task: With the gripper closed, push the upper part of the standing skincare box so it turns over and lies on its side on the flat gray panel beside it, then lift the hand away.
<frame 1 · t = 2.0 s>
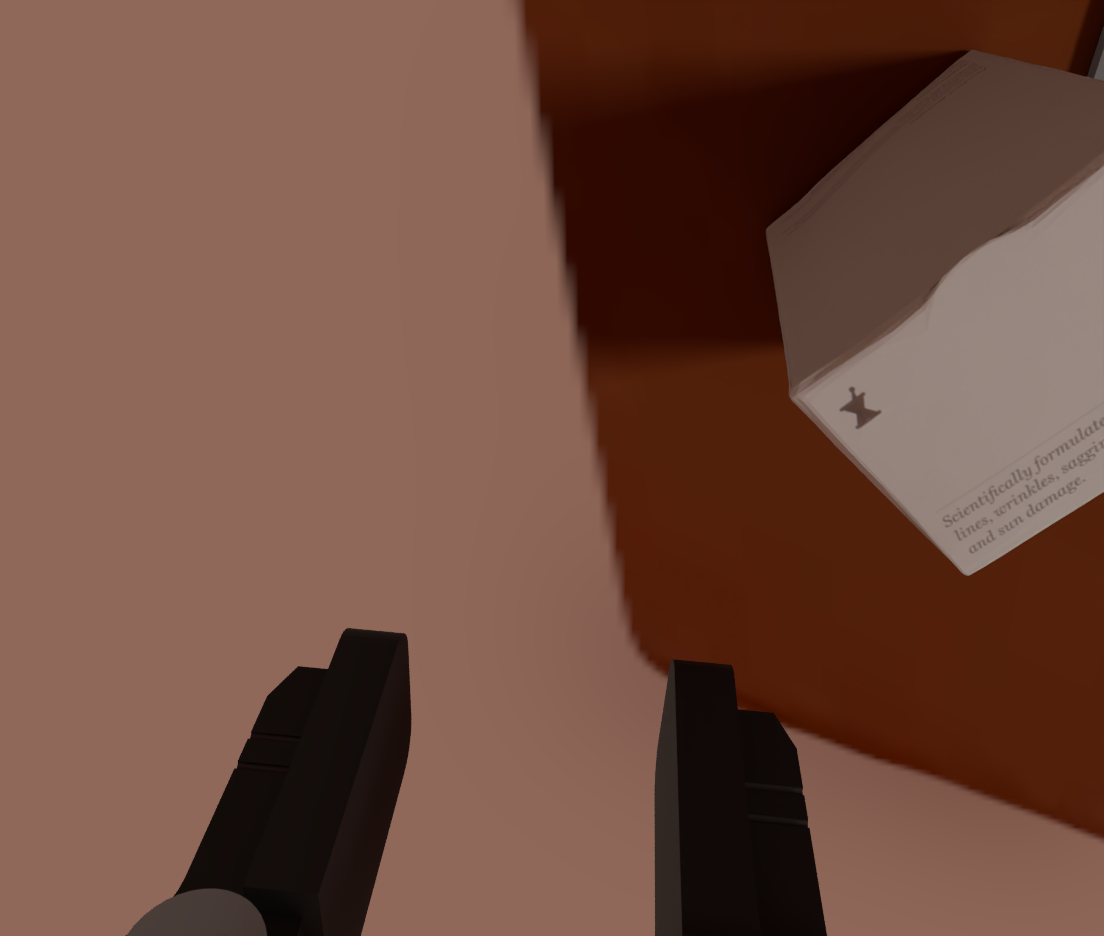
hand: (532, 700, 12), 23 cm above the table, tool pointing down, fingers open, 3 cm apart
skincare box: (919, 198, 31), on the table, touching flat gray panel
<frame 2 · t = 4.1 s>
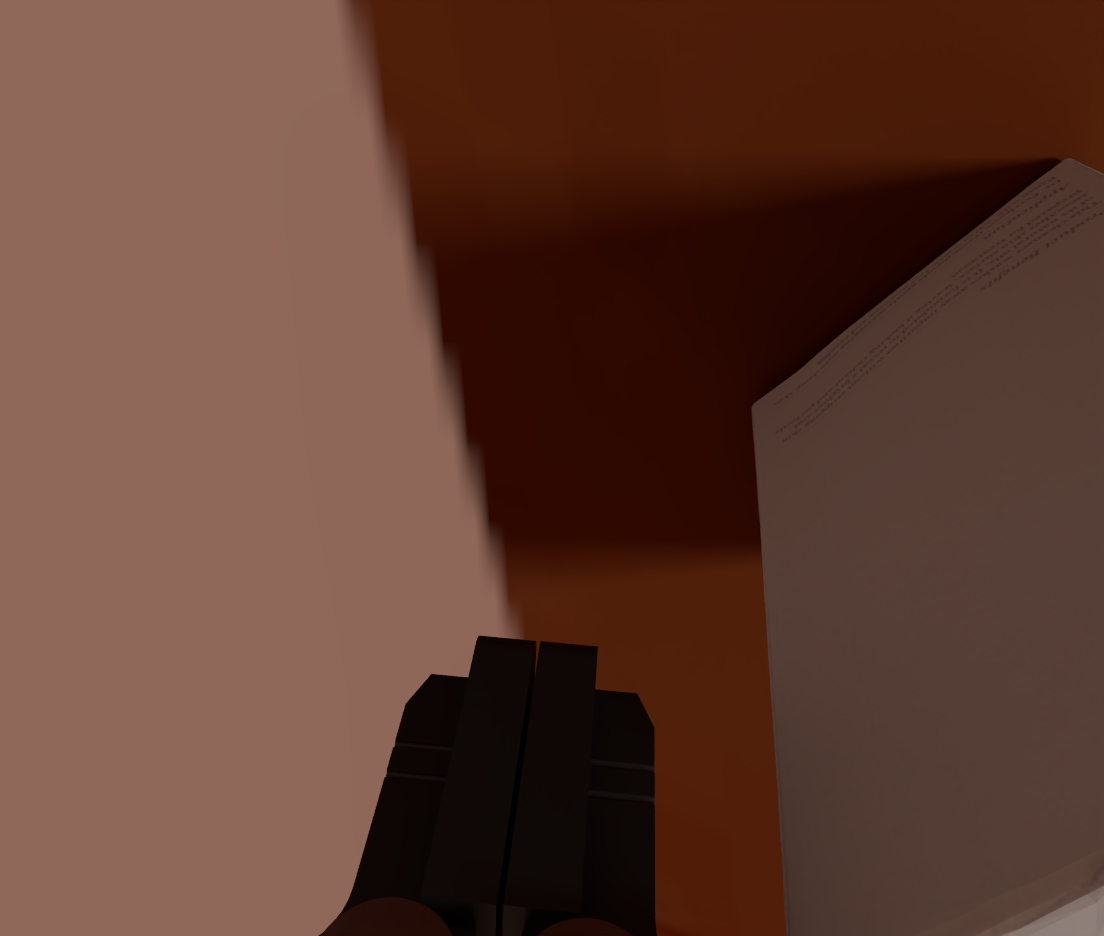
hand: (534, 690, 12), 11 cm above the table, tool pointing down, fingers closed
skincare box: (978, 365, 21), on the table, touching flat gray panel, gripper
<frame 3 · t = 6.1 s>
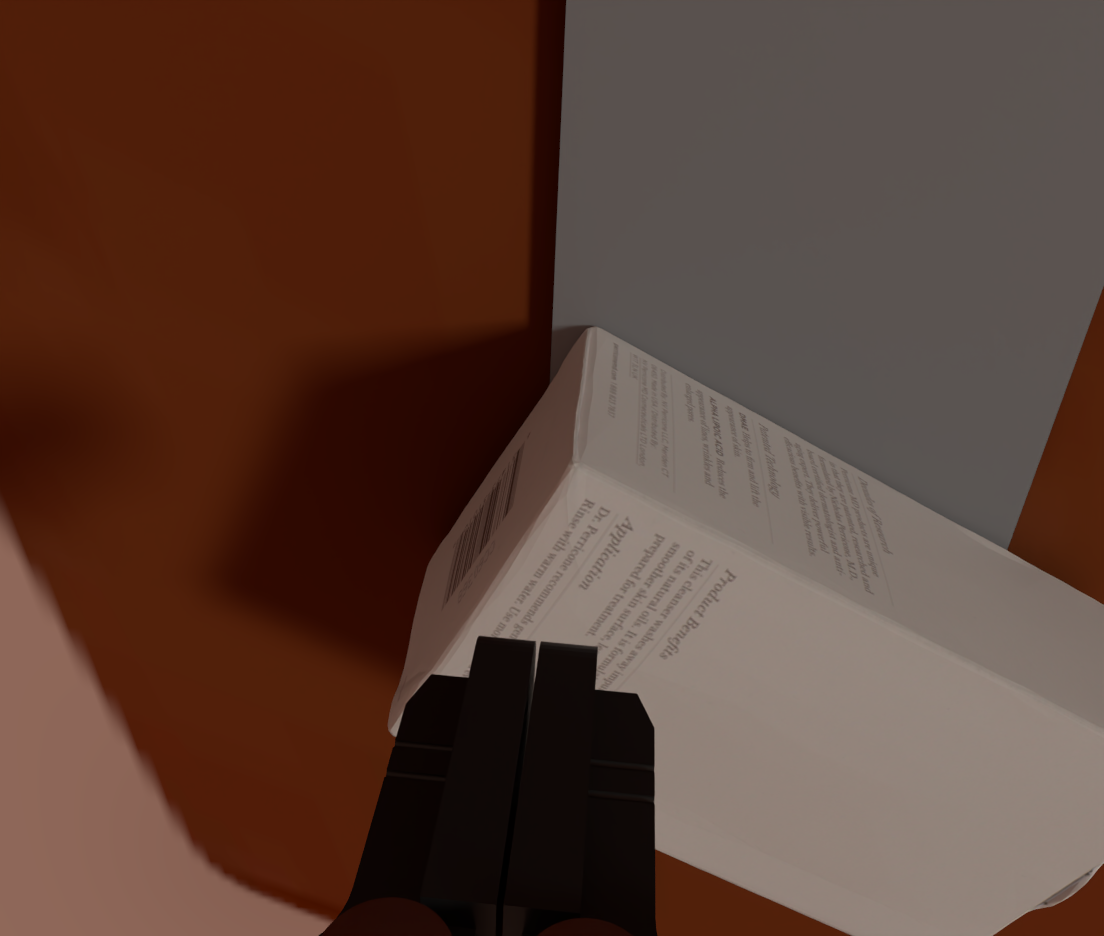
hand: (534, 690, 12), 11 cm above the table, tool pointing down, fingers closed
flat gray panel: (803, 353, 21), on the table
skincare box: (476, 514, 20), point 3 cm above the table, touching flat gray panel
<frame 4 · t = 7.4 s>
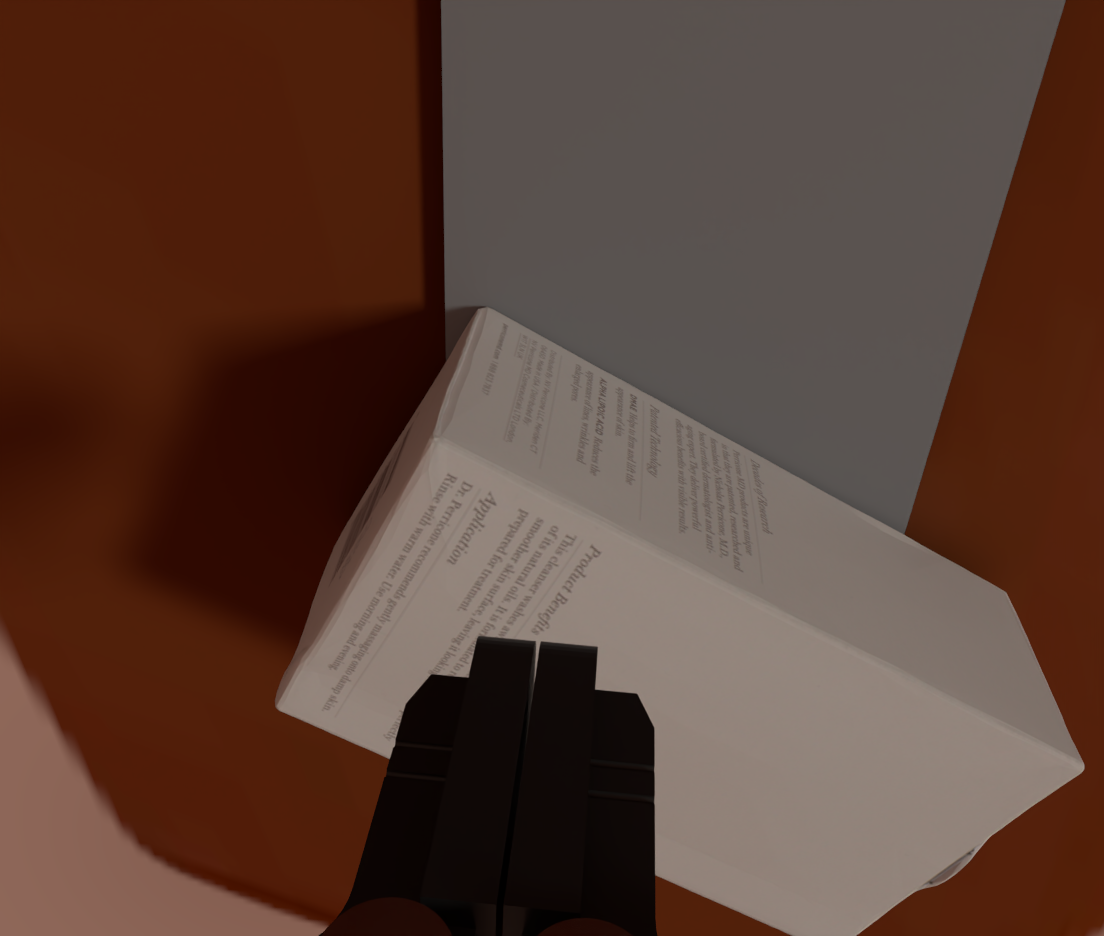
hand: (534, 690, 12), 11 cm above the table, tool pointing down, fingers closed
flat gray panel: (696, 335, 21), on the table
skincare box: (364, 491, 20), point 3 cm above the table, touching flat gray panel
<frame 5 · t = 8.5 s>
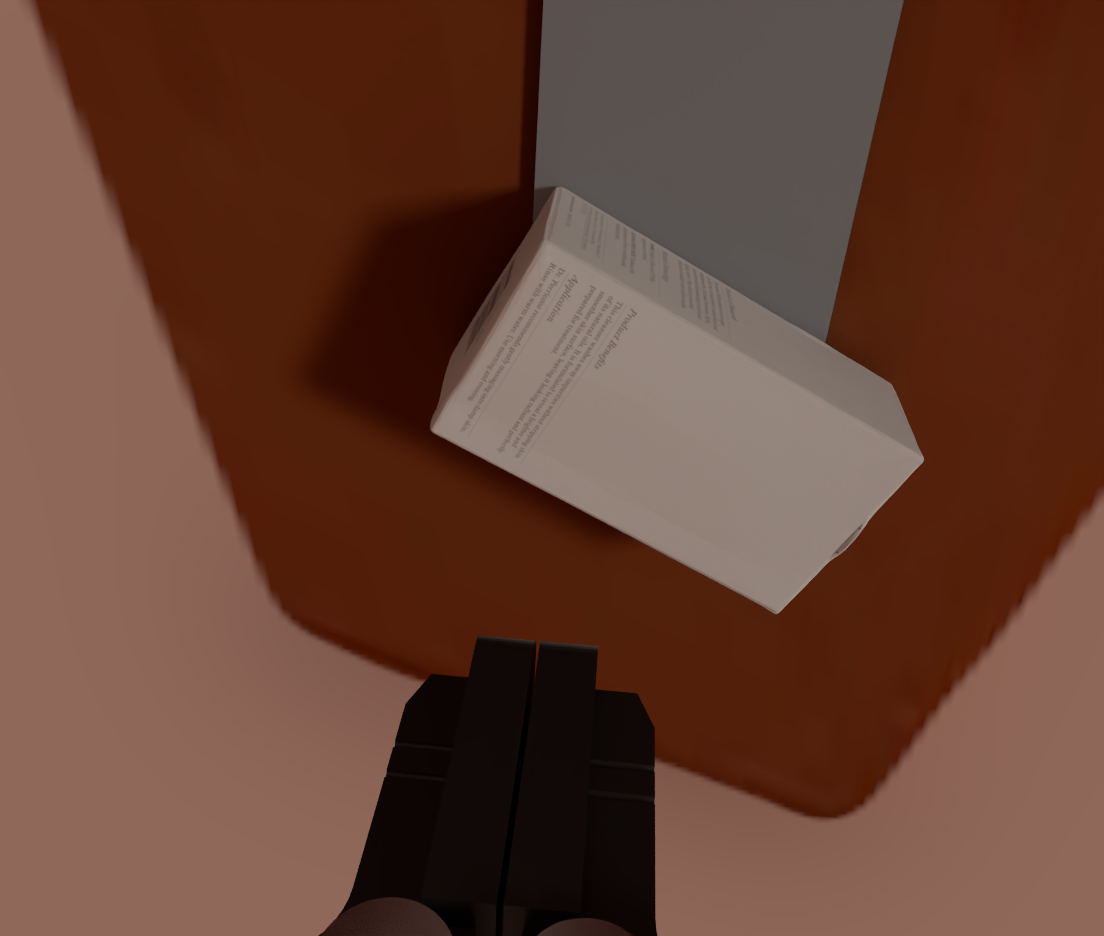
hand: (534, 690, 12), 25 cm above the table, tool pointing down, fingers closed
flat gray panel: (691, 208, 34), on the table
skincare box: (486, 297, 33), point 3 cm above the table, touching flat gray panel
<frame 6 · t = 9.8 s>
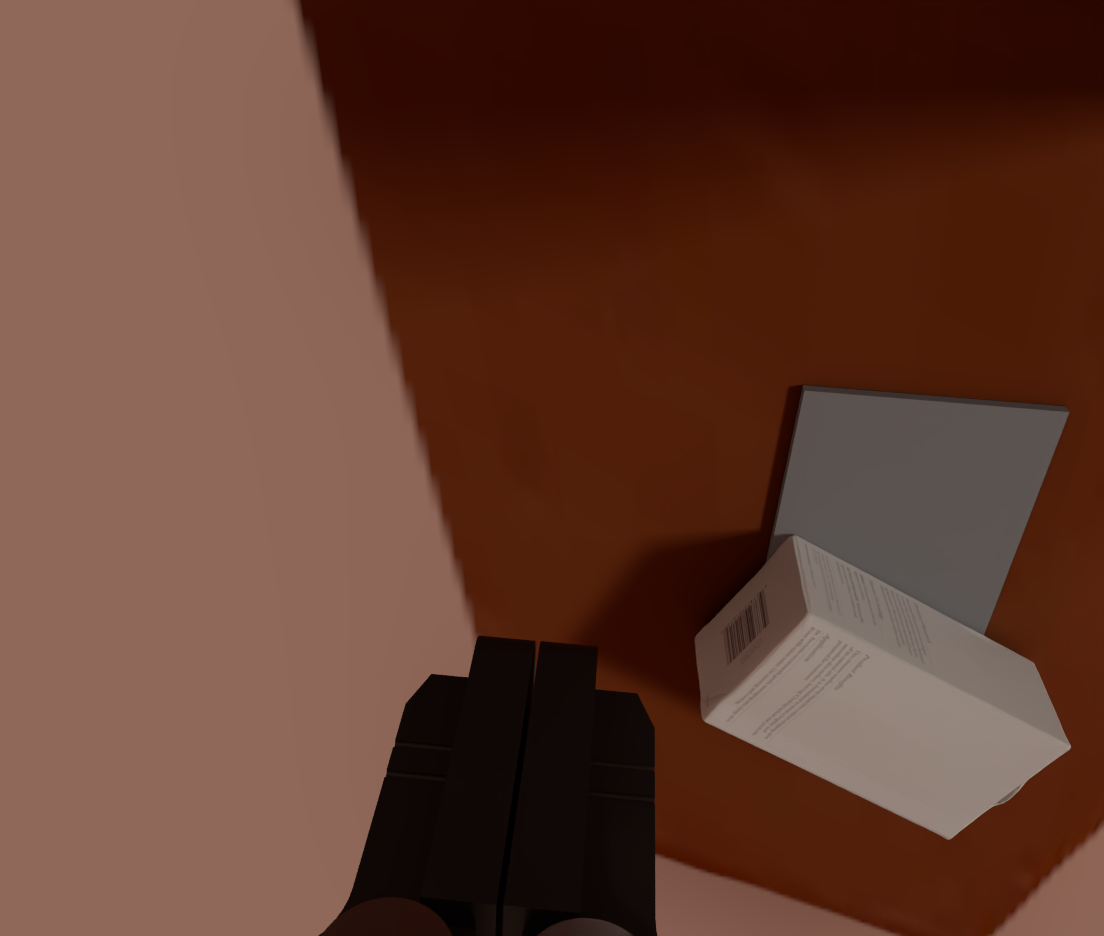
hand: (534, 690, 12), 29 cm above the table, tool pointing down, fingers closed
flat gray panel: (889, 545, 46), on the table
skincare box: (743, 622, 44), point 3 cm above the table, touching flat gray panel
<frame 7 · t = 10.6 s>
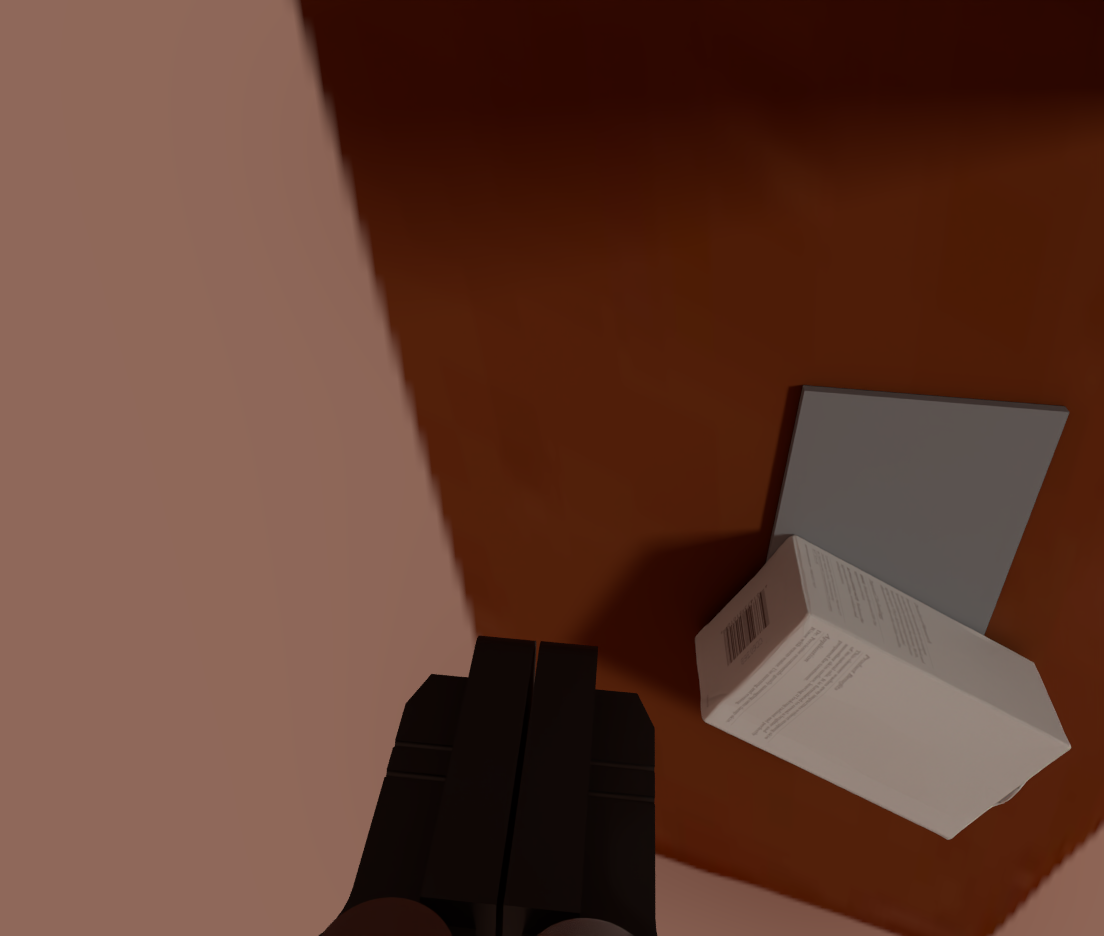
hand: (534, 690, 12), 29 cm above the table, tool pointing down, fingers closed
flat gray panel: (889, 545, 46), on the table
skincare box: (743, 622, 44), point 3 cm above the table, touching flat gray panel
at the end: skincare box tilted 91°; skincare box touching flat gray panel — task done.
